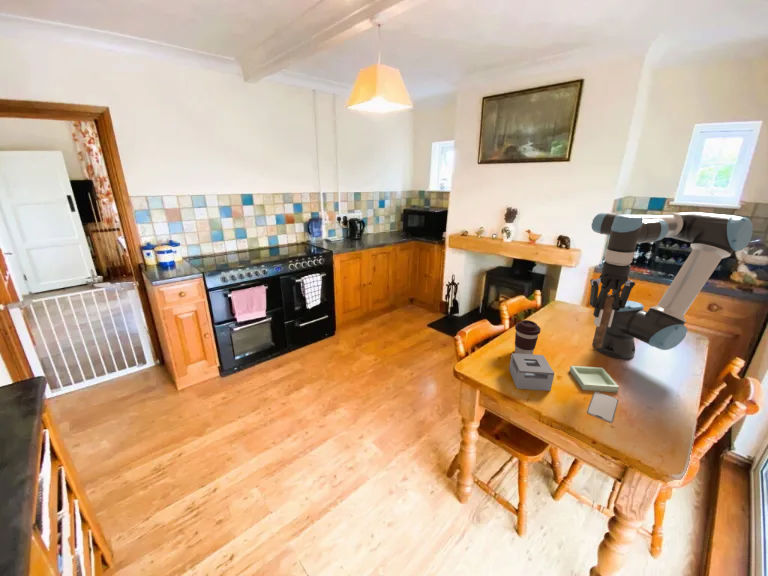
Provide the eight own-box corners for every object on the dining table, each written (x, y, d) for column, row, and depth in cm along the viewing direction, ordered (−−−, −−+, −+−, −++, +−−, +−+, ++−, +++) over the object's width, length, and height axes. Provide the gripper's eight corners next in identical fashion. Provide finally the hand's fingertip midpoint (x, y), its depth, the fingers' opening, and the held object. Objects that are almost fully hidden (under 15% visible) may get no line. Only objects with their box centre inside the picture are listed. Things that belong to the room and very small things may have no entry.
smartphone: (618, 399, 114) (612, 422, 104) (618, 400, 114) (612, 424, 104) (594, 390, 119) (586, 412, 108) (594, 391, 119) (585, 413, 108)
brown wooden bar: (599, 343, 120) (611, 294, 113) (603, 348, 117) (616, 297, 110) (590, 343, 121) (602, 294, 113) (594, 347, 118) (606, 297, 111)
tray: (601, 372, 129) (602, 367, 128) (617, 392, 118) (619, 386, 117) (569, 370, 130) (570, 365, 130) (582, 389, 119) (584, 384, 118)
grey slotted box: (540, 371, 130) (543, 355, 127) (550, 390, 119) (554, 373, 116) (509, 369, 131) (511, 353, 129) (516, 388, 120) (519, 370, 117)
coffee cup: (537, 361, 137) (543, 329, 132) (513, 358, 139) (518, 327, 133) (532, 349, 146) (538, 319, 141) (509, 346, 148) (514, 317, 143)
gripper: (637, 259, 110) (620, 321, 118) (586, 258, 112) (573, 319, 120) (650, 266, 103) (632, 331, 111) (596, 265, 105) (582, 329, 113)
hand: (601, 324), depth 116 cm, fingers closed on brown wooden bar, 3 cm apart
